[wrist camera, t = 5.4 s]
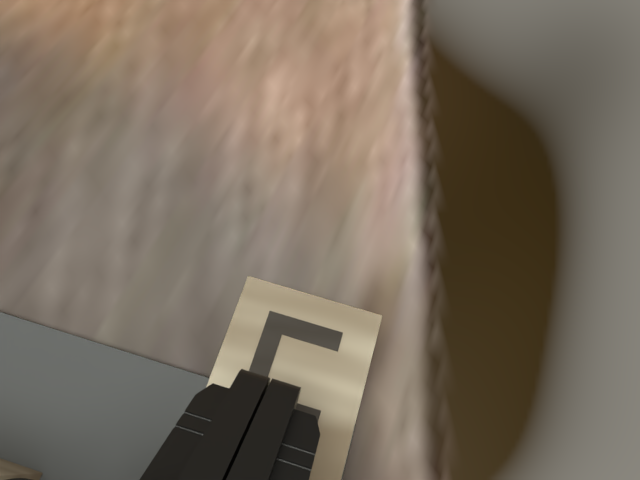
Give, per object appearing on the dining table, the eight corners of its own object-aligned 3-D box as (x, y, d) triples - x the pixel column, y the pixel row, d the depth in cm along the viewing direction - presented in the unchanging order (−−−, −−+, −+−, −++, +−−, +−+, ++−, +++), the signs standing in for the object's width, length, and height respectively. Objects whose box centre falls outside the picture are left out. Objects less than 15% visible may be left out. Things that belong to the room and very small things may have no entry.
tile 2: (314, 588, 13) (382, 315, 16) (151, 531, 13) (247, 275, 16) (312, 567, 15) (372, 333, 18) (174, 519, 15) (255, 297, 18)
